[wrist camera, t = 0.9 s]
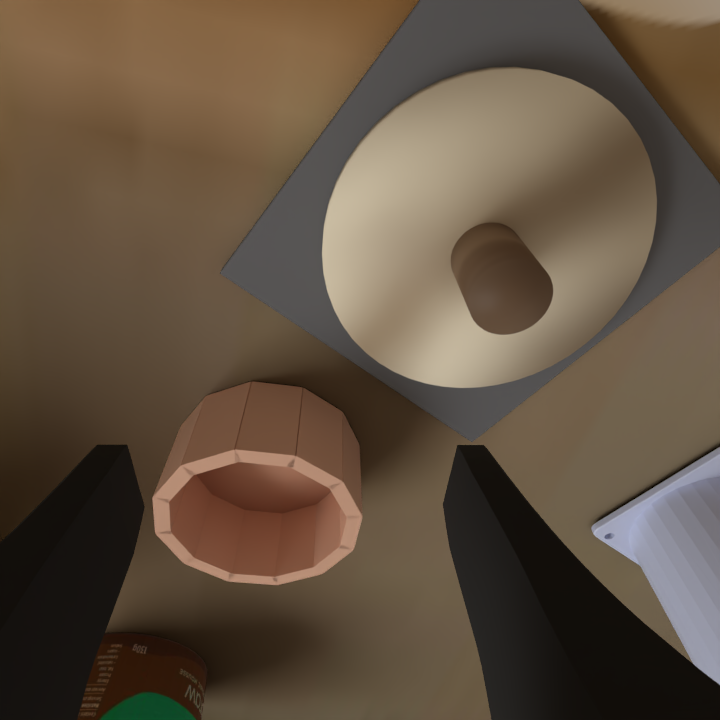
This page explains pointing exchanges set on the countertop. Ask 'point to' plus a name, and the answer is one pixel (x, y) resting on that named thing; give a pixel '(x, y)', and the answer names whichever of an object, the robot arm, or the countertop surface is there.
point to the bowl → (261, 486)
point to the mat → (420, 69)
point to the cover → (488, 227)
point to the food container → (144, 680)
